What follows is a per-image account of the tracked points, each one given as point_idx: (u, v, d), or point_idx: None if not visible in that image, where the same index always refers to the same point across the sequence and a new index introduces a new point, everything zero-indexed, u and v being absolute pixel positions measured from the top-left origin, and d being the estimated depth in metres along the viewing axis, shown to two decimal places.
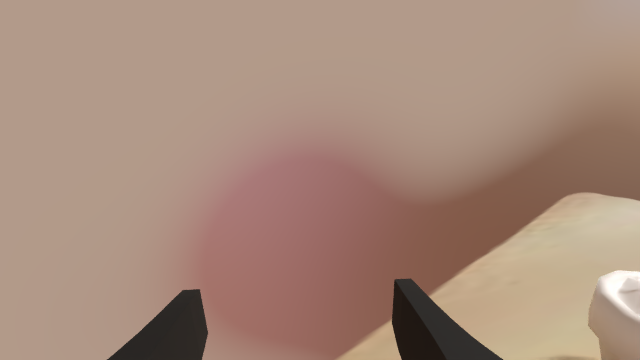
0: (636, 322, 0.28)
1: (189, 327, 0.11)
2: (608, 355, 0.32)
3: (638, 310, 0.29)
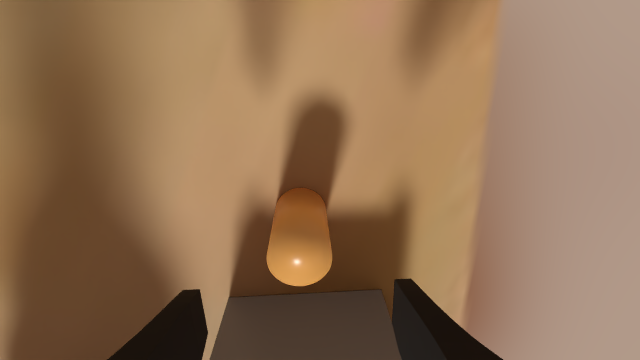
0: None
1: (189, 327, 0.11)
2: None
3: None
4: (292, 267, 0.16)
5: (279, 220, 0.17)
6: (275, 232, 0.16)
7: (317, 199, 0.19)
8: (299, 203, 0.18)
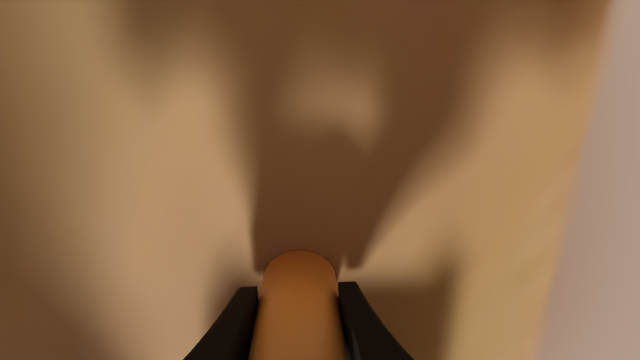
0: None
1: (252, 324, 0.11)
2: None
3: None
4: None
5: (265, 321, 0.10)
6: (257, 350, 0.09)
7: (324, 271, 0.13)
8: (298, 287, 0.11)
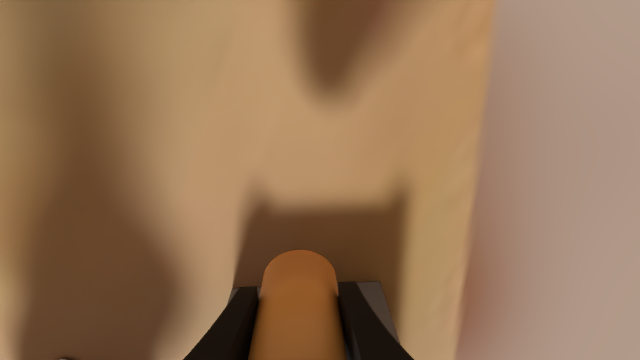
0: None
1: (252, 324, 0.11)
2: None
3: None
4: None
5: (265, 321, 0.10)
6: (257, 349, 0.09)
7: (324, 270, 0.13)
8: (298, 286, 0.11)
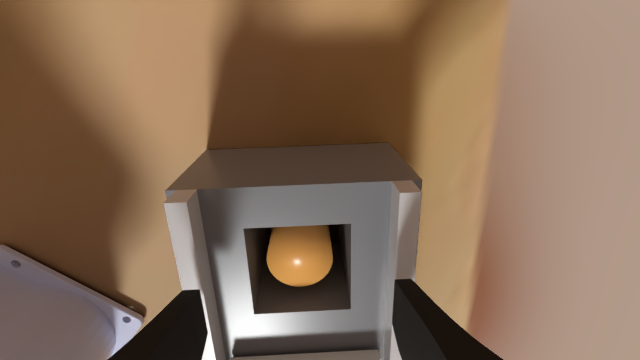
0: None
1: (189, 327, 0.11)
2: None
3: None
4: (292, 268, 0.16)
5: None
6: (275, 232, 0.16)
7: None
8: None
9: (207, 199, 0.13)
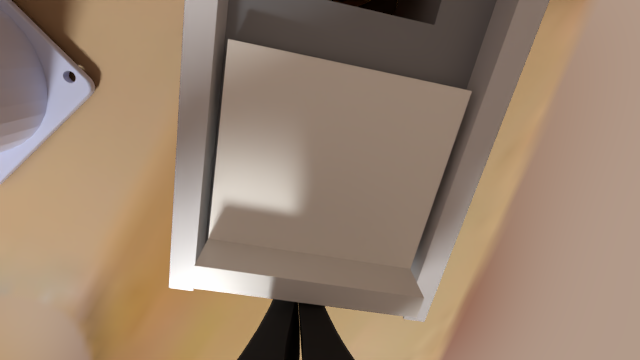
0: None
1: (295, 321, 0.11)
2: None
3: None
4: None
5: None
6: None
7: None
8: None
9: None
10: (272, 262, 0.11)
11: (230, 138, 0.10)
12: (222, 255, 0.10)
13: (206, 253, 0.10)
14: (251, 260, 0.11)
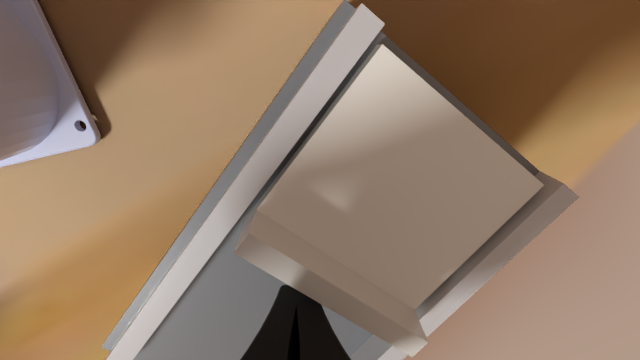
0: None
1: (298, 321, 0.11)
2: None
3: None
4: None
5: None
6: None
7: None
8: None
9: None
10: (311, 257, 0.11)
11: (332, 129, 0.10)
12: (270, 232, 0.10)
13: (257, 224, 0.10)
14: (294, 248, 0.10)
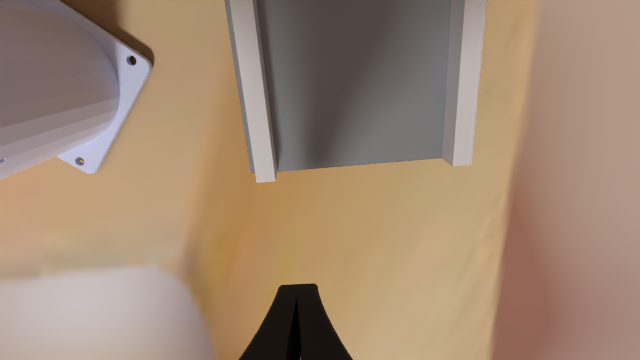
0: None
1: (296, 321, 0.11)
2: None
3: None
4: None
5: None
6: None
7: None
8: None
9: None
10: None
11: None
12: None
13: None
14: None
